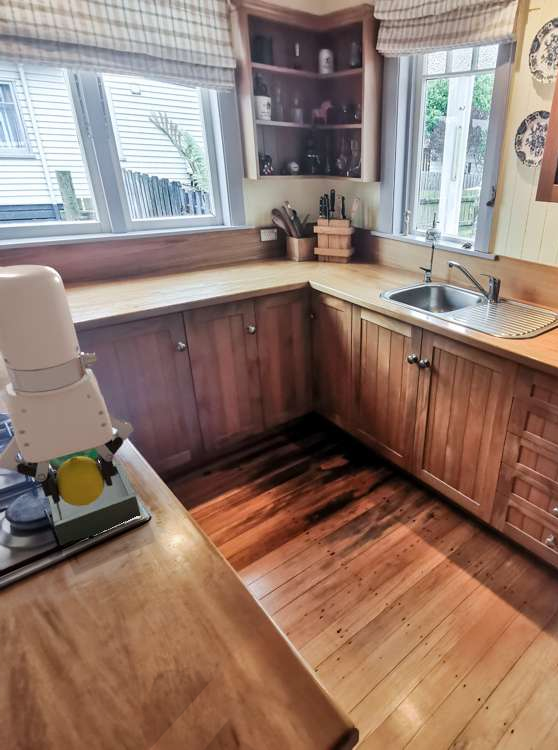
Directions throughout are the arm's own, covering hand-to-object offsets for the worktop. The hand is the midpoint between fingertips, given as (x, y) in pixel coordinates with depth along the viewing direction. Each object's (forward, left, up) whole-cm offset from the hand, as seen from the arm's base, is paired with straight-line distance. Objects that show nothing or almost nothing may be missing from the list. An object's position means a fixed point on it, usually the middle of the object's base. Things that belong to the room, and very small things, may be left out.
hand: (82, 487), depth 64 cm
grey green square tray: (+1, +16, -17) cm, 23 cm away
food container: (+1, +30, -17) cm, 35 cm away
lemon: (0, 0, -3) cm, 3 cm away
